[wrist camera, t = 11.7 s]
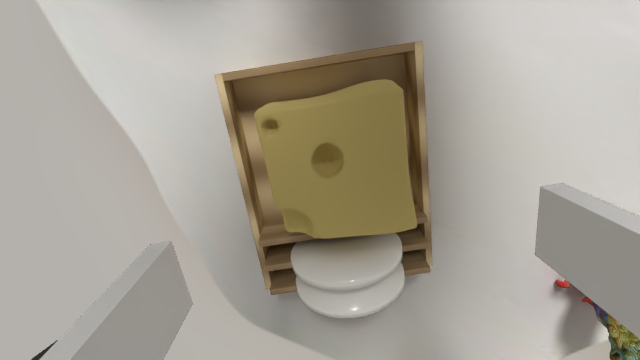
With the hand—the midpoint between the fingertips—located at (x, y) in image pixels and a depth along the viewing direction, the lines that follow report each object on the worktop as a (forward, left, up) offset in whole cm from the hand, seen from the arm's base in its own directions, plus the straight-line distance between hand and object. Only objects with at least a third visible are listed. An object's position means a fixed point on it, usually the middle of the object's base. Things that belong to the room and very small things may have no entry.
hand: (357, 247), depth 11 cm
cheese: (0, 0, -20) cm, 20 cm away
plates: (+10, 0, -20) cm, 23 cm away
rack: (+3, 0, -21) cm, 21 cm away
